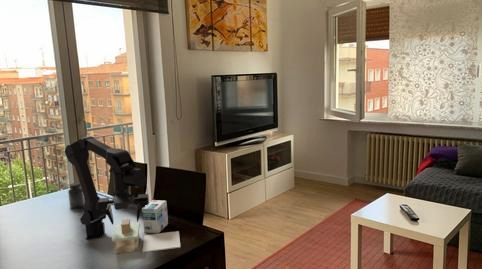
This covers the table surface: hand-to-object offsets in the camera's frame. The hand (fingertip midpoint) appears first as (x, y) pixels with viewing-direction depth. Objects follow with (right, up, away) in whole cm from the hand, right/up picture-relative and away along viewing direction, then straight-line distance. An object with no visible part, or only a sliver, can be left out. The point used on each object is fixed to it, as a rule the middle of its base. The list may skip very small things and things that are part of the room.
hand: (125, 222), depth 142 cm
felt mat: (+13, -8, +3) cm, 16 cm away
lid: (0, -5, +1) cm, 5 cm away
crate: (0, -9, +1) cm, 9 cm away
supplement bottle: (-39, -3, +46) cm, 60 cm away
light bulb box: (+8, -6, +16) cm, 19 cm away
